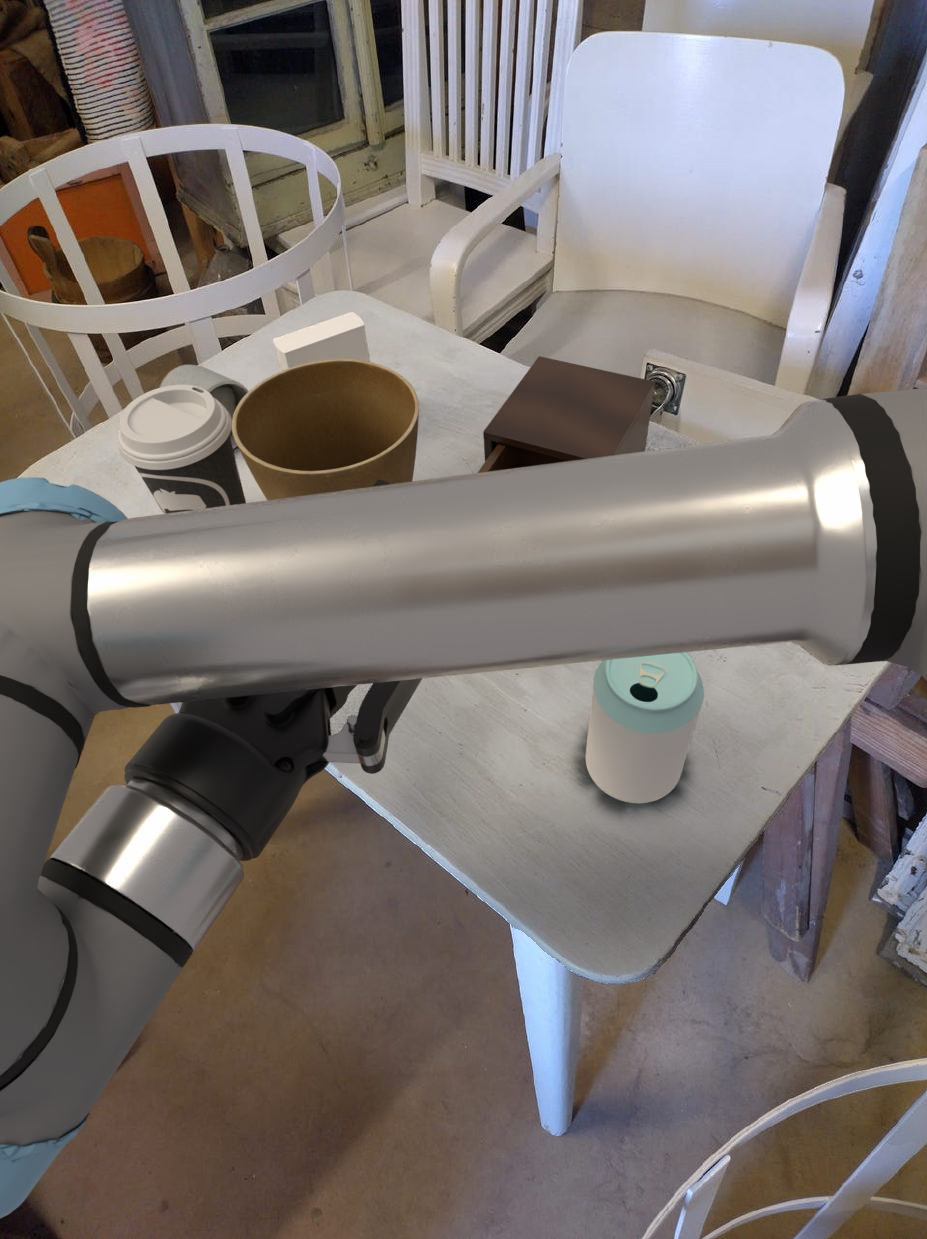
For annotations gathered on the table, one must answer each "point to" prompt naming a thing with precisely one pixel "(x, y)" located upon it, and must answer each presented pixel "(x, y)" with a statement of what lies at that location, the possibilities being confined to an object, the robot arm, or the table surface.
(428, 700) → the table surface
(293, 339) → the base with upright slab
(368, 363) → the plant pot
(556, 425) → the cabinet
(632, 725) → the can
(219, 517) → the robot arm
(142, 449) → the coffee cup
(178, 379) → the ceramic mug
